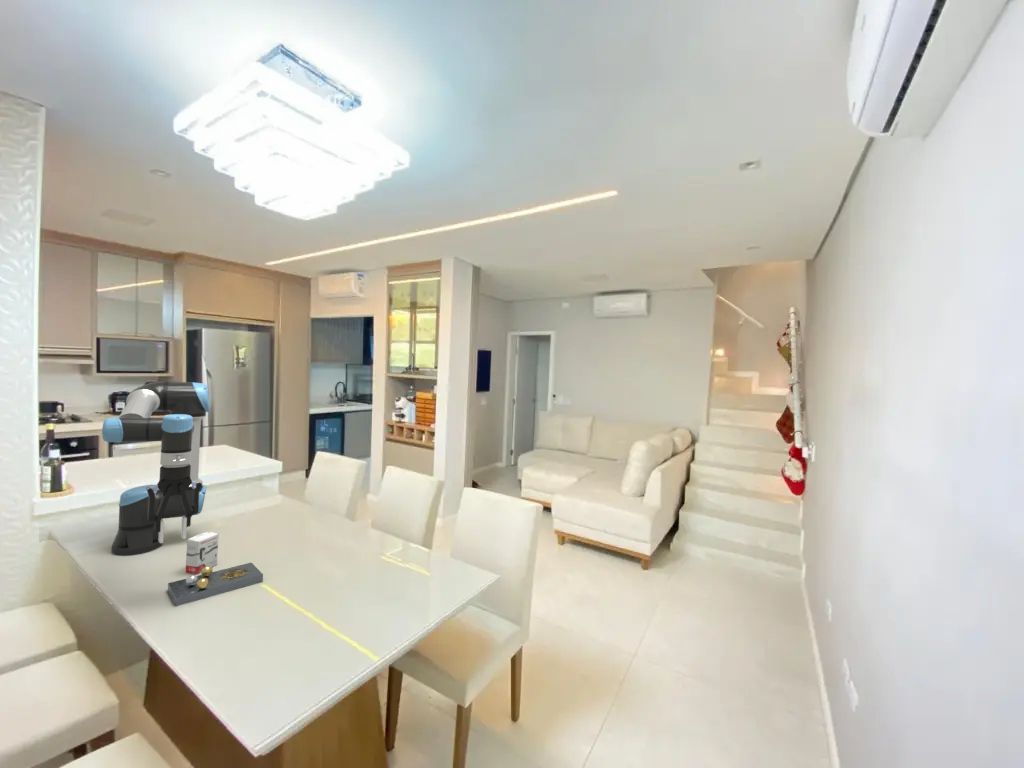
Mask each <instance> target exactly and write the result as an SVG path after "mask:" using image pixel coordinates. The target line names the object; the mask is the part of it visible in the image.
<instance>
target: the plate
mask: <svg viewBox="0 0 1024 768" xmlns="http://www.w3.org/2000/svg"><path fill="white" fill-rule="evenodd" d="M196 576H197V577H198V580H200V579H201V578H206V579H208V581H209V584H208V586H207V587H206V588H204V589H199V588H197V586H196V584H197V583H196V584H195V585H193V586H188V585H187V584H186V582H185V581H186V579H187V578H185V579H184V578H183V579H180V580H179V579H178V580H175V581H171V582H168V584H167V592H168V594H169V596H170V598H171V600H172V602H173V603H174V606H175V607H178V606H181V605H185V604H188V603H192V602H196V601H199V600H202V599H206V598H210V597H213V596H217V595H220V594H224V593H228V592H232V591H234V590H238V589H242V588H245V587H249V586H251V585H256V584H260V583H263V581H264V573H263V572H261V570H260V569H258V567H257V566H256V565H254V563H253V562H252V561H251V562H248V563H244V564H241V565H236V566H233V567H232V566H231V567H227V568H224V569H220V570H215V571H212V573H211V574H210V575H209V576H203V575H202V574H200V575H196ZM197 582H198V581H197Z"/></svg>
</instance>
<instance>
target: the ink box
mask: <svg viewBox="0 0 1024 768" xmlns="http://www.w3.org/2000/svg"><path fill="white" fill-rule="evenodd" d="M218 551H219V533H216V532H212V531H205V532H202V533H199V534H197V535H195V536H192V537H190V538H188V539H187V540H186V555H185V556H186V558H185V573H187V574H191V575H198V574H201V570H202V569H203V568H204V567H205V566H211V567H212V568H213V567H215V566H217V565H218Z"/></svg>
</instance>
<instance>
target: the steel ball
mask: <svg viewBox="0 0 1024 768" xmlns="http://www.w3.org/2000/svg"><path fill="white" fill-rule="evenodd" d="M197 576H198V575H197V574H191V575H188V576H187V577H186V578H185V579H186V581H185V582H186V584H187V585H188V586H193V585H195V584H196V583H197V581H198V577H197Z"/></svg>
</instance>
